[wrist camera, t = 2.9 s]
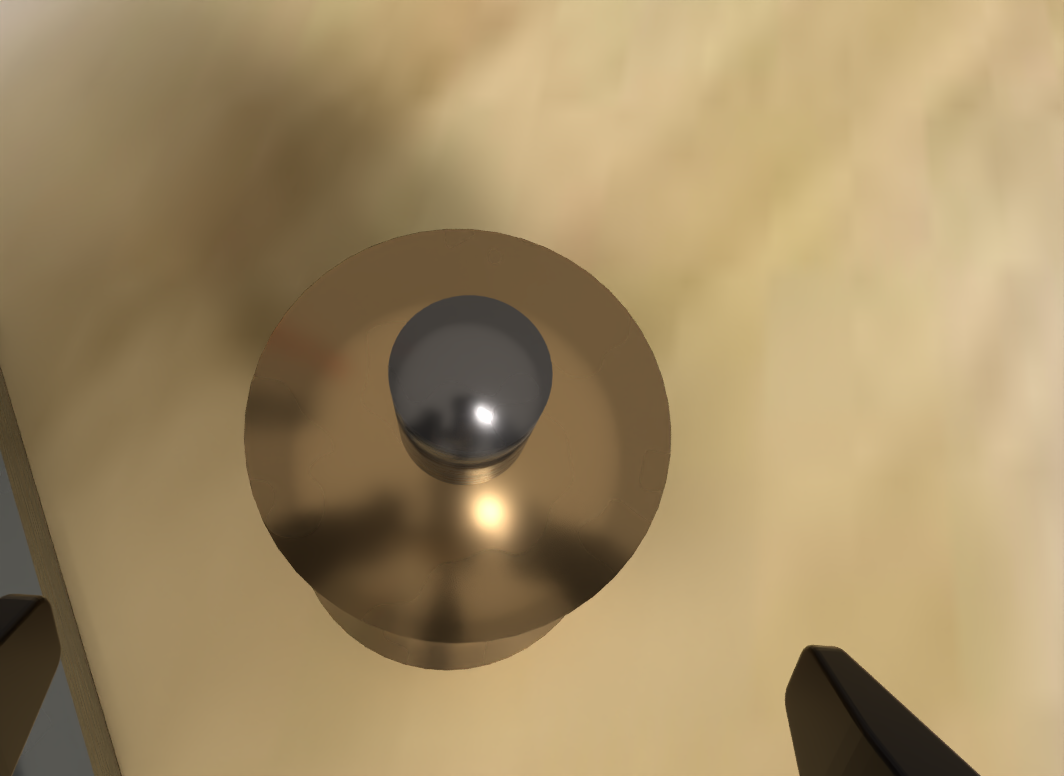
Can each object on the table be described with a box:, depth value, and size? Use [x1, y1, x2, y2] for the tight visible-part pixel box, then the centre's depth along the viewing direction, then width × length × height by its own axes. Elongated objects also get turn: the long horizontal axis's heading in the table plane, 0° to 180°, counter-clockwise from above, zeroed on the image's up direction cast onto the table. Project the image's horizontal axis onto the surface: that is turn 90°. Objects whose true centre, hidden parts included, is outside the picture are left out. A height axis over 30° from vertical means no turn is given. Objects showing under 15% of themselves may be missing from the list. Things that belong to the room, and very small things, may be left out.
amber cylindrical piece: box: [244, 229, 671, 670], centre depth 13 cm, size 7×7×12 cm
